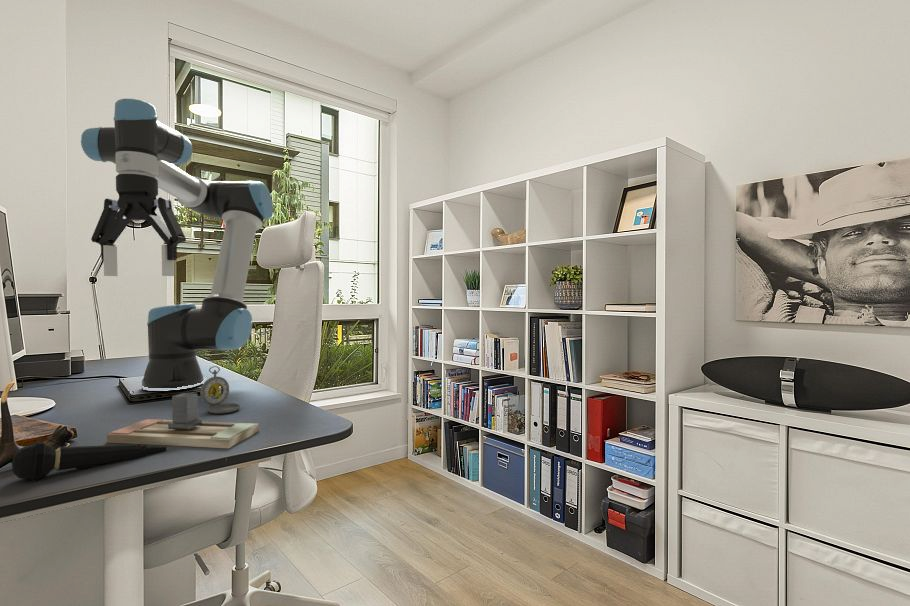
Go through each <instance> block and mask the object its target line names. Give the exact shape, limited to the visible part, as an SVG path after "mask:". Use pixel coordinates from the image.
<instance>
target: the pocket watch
mask: <svg viewBox="0 0 910 606" xmlns="http://www.w3.org/2000/svg"><path fill="white" fill-rule="evenodd" d="M212 368H218V370H216V369H214V370H213V371H211V369H212ZM220 370H221V369H220V367H219V366H216V365H214V366H212V367H210V368H209V369H208V372H209V373H211V374H212V375H213V376H212V377H210V378H208V379H206V380H205V381H204V384H203V385H201V386H200V387H201V388H200V392H199V393H200V399H201V400H202V401H203V403H205V404H206V405H208V406H209V407H208V408H207V411H208V413H211V414H216V415H217V414H219V415H220V414H227V413H233V412H236V411H238V410H239V409H240V408H241V406H240V404H239V403H230V402H228V403H223V402H225V401H226V399H227V398H228V396H229V392H230V384H229V382H228V381H227V379H226V378H224V377H221V376H217V374H218V373H219V372H220ZM212 397H213V398H212Z"/></svg>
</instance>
